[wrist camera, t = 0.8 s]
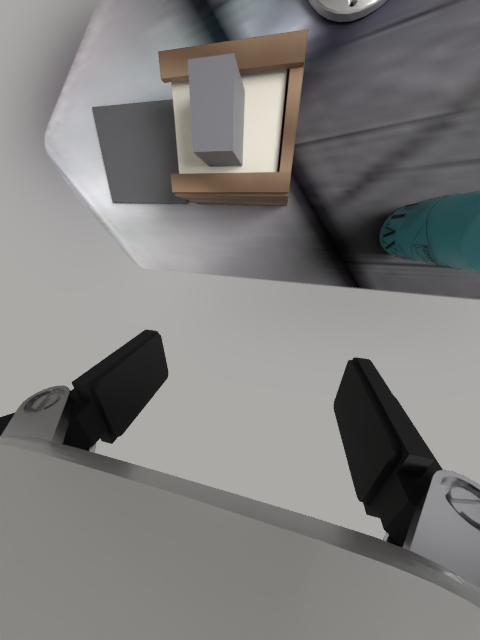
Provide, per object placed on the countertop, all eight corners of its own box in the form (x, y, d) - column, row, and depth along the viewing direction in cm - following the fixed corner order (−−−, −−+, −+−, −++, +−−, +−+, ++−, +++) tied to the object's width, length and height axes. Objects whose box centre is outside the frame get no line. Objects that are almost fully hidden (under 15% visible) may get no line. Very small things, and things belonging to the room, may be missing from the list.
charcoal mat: (95, 109, 28) (92, 107, 28) (180, 101, 26) (178, 98, 25) (115, 202, 33) (112, 202, 33) (188, 203, 31) (186, 203, 30)
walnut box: (194, 100, 25) (157, 46, 18) (301, 90, 23) (308, 23, 15) (199, 204, 30) (172, 194, 23) (287, 205, 28) (287, 195, 21)
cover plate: (176, 84, 20) (142, 38, 16) (287, 72, 18) (288, 14, 13) (183, 184, 24) (158, 172, 19) (276, 183, 22) (274, 169, 17)
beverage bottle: (393, 197, 25) (655, 109, 7) (441, 214, 25) (837, 168, 7) (362, 246, 28) (495, 268, 10) (405, 262, 28) (618, 314, 10)
